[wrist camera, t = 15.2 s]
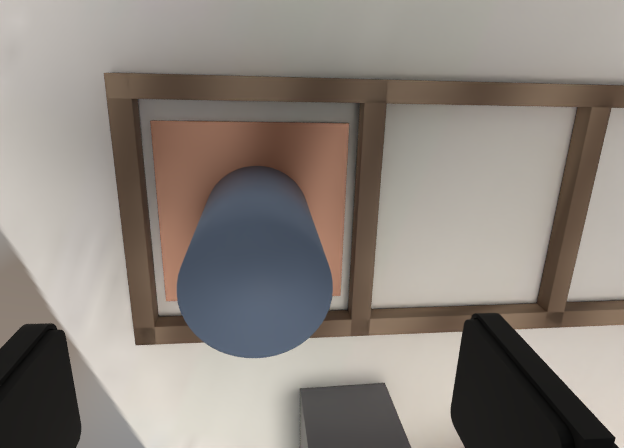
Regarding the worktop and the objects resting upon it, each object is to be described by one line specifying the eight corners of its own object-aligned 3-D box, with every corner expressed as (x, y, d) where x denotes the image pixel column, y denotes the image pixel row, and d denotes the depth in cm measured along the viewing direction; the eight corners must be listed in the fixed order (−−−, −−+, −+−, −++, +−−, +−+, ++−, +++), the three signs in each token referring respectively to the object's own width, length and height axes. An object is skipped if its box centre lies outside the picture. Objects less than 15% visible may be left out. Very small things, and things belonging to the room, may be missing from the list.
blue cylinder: (310, 166, 22) (336, 218, 14) (306, 262, 23) (329, 355, 16) (203, 165, 21) (171, 218, 13) (207, 263, 23) (181, 360, 15)
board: (796, 89, 23) (818, 90, 22) (717, 311, 28) (733, 320, 27) (111, 72, 19) (103, 72, 19) (140, 334, 24) (135, 345, 23)
